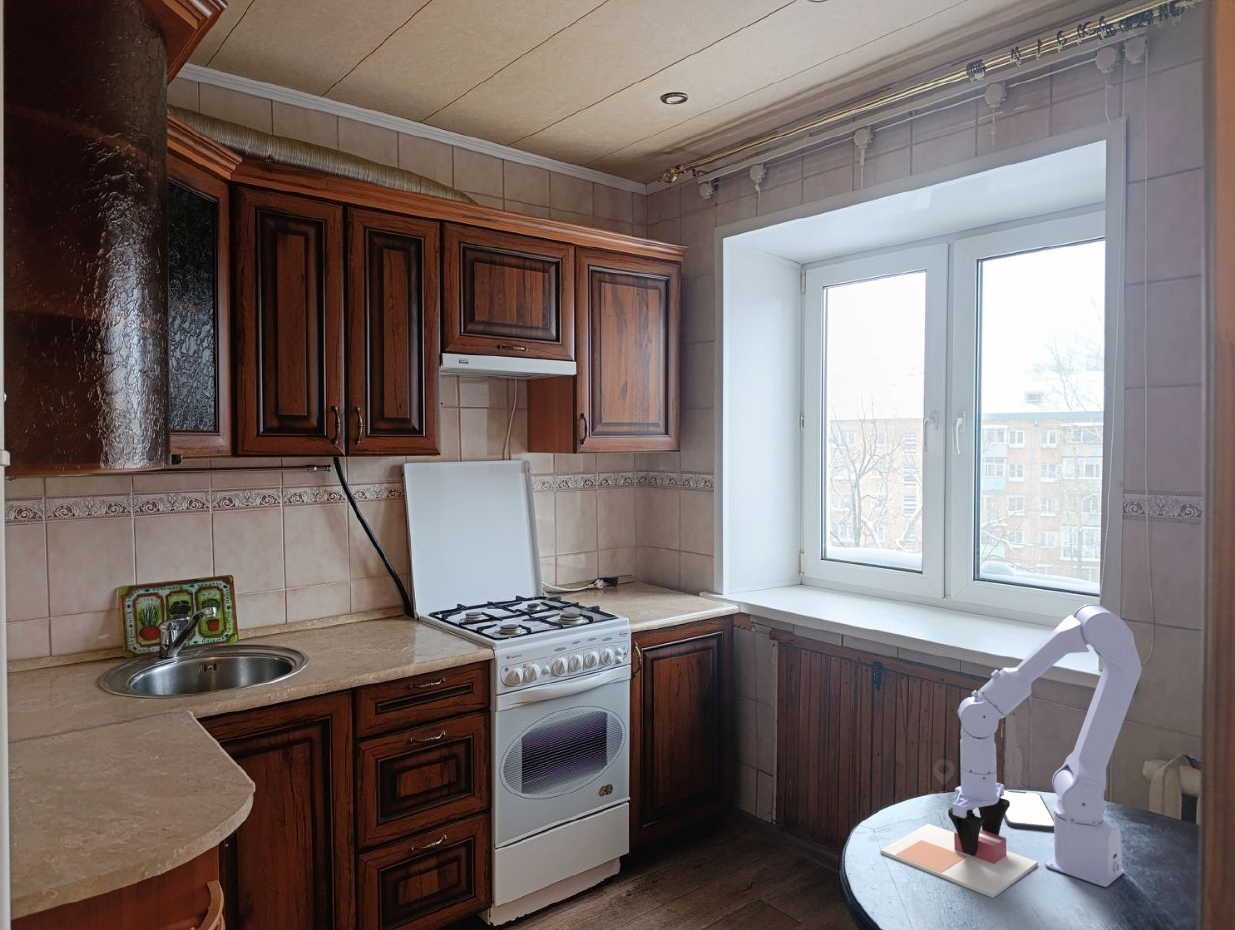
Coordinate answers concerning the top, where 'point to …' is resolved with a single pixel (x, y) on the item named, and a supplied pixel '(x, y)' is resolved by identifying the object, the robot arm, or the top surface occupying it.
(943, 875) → the mat
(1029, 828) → the smartphone
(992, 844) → the card box
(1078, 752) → the robot arm
